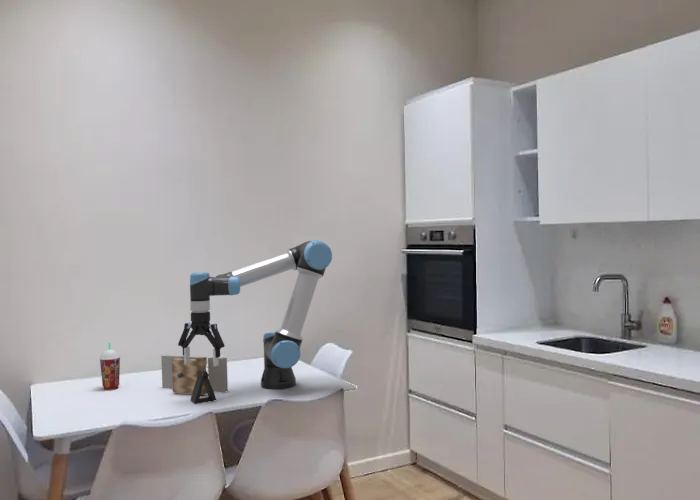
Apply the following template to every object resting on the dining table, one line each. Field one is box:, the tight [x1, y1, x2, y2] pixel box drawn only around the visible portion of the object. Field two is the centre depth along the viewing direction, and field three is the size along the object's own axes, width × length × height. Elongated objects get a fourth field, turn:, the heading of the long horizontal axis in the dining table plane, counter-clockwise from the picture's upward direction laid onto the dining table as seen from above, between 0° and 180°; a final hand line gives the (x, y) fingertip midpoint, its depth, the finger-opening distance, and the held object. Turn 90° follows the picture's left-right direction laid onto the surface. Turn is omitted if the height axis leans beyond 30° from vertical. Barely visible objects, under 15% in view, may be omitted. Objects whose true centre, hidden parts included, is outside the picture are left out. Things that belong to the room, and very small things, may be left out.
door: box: [172, 356, 207, 396], centre depth 258 cm, size 16×3×15 cm, turn 69°
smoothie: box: [99, 342, 121, 391], centre depth 274 cm, size 8×8×20 cm
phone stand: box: [190, 370, 218, 405], centre depth 248 cm, size 9×6×12 cm, turn 119°
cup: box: [206, 354, 225, 369], centre depth 306 cm, size 8×10×7 cm
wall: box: [160, 354, 229, 393], centre depth 267 cm, size 32×2×14 cm, turn 68°
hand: (201, 364), depth 248 cm, fingers open, 13 cm apart
